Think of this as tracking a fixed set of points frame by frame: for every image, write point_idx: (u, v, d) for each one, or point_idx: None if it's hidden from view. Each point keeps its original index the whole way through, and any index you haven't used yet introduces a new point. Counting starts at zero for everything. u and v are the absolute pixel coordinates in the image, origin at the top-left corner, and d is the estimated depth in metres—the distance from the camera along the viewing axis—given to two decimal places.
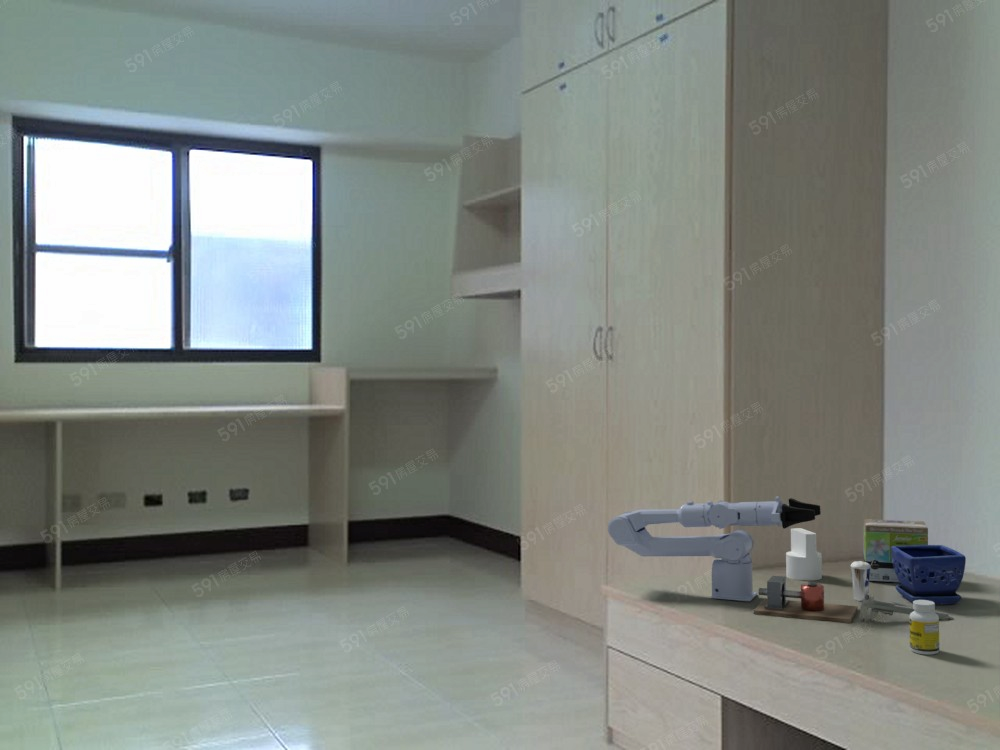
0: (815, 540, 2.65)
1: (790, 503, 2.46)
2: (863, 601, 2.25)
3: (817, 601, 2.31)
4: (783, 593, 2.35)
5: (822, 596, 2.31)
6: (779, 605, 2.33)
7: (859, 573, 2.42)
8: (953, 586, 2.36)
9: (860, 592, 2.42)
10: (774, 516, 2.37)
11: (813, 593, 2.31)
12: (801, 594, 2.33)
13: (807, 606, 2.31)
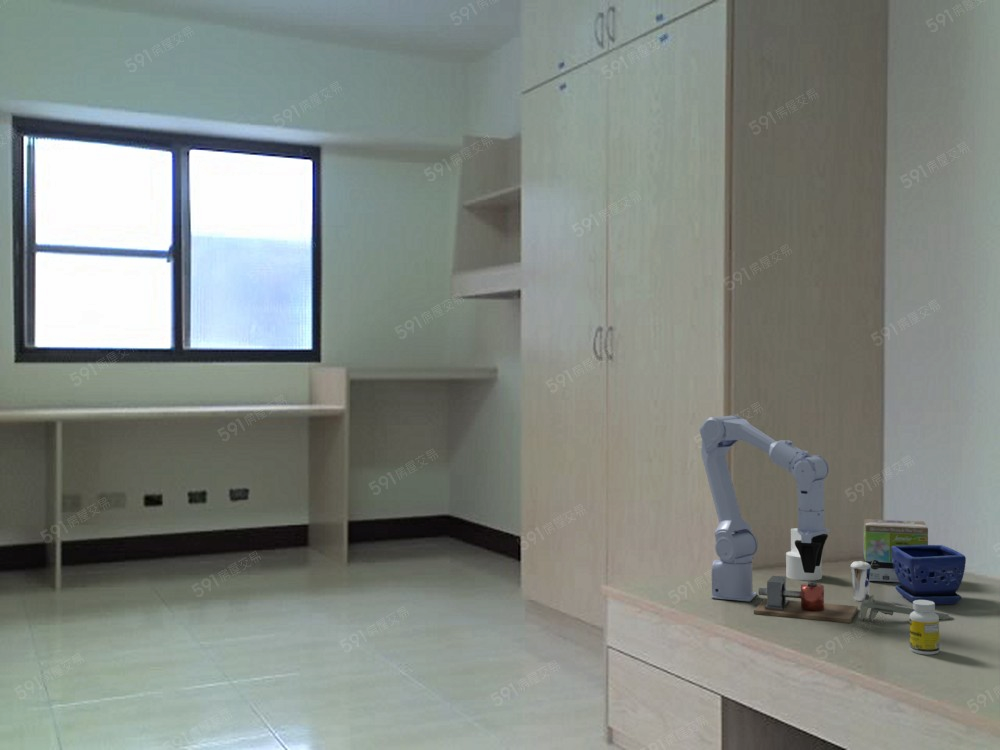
0: None
1: (822, 537, 2.35)
2: (863, 601, 2.25)
3: (817, 601, 2.31)
4: (783, 593, 2.35)
5: (822, 596, 2.31)
6: (779, 605, 2.33)
7: (859, 573, 2.42)
8: (953, 586, 2.36)
9: (860, 592, 2.42)
10: (808, 538, 2.26)
11: (813, 593, 2.31)
12: (801, 594, 2.33)
13: (807, 606, 2.31)
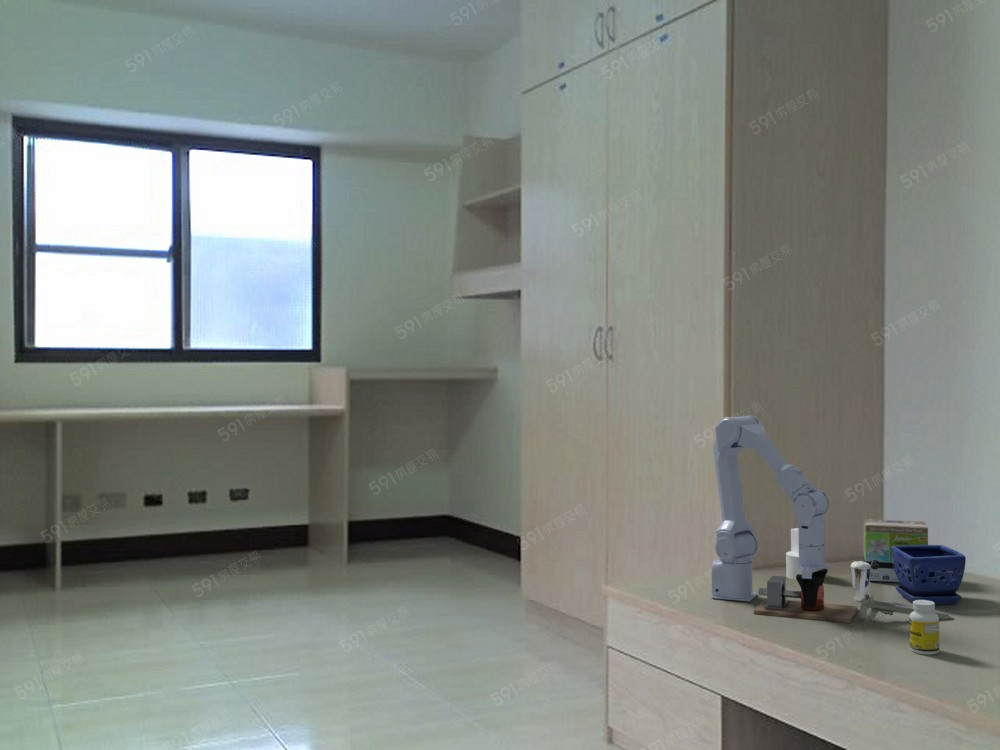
0: None
1: (822, 572, 2.35)
2: (863, 601, 2.25)
3: (817, 601, 2.31)
4: (783, 593, 2.35)
5: (822, 596, 2.31)
6: (779, 605, 2.33)
7: (859, 573, 2.42)
8: (953, 586, 2.36)
9: (860, 592, 2.42)
10: (808, 573, 2.26)
11: None
12: (801, 594, 2.33)
13: None
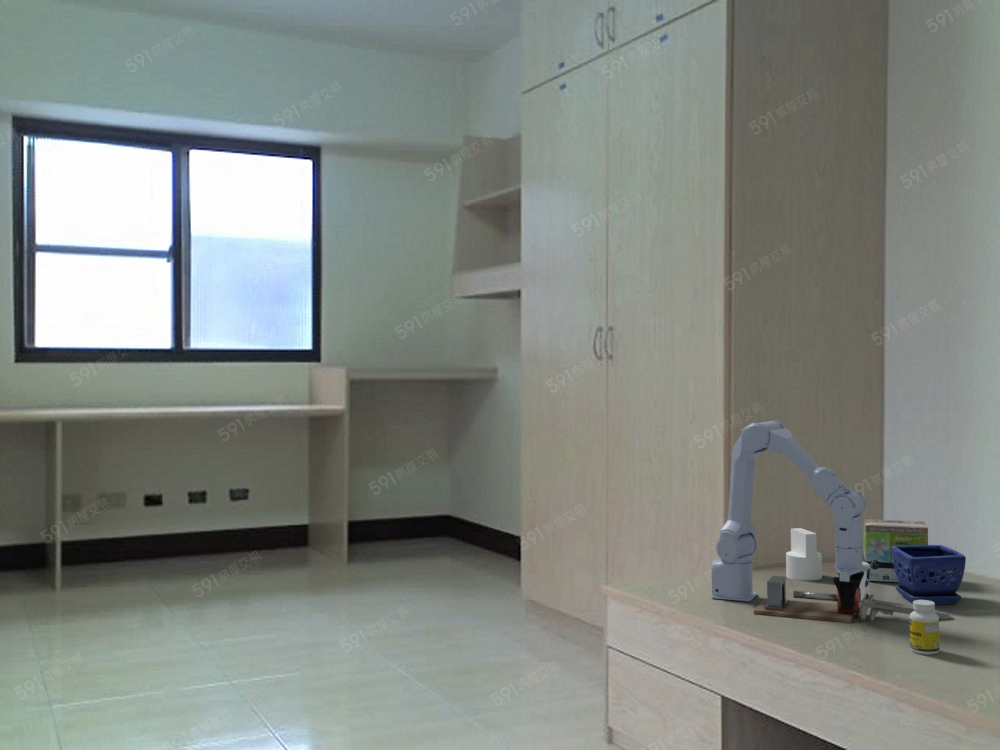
0: (815, 540, 2.65)
1: (858, 575, 2.31)
2: (863, 601, 2.25)
3: (854, 604, 2.27)
4: (818, 596, 2.32)
5: (859, 599, 2.28)
6: (779, 605, 2.33)
7: None
8: (953, 586, 2.36)
9: None
10: (846, 576, 2.23)
11: None
12: (837, 597, 2.30)
13: (844, 610, 2.28)
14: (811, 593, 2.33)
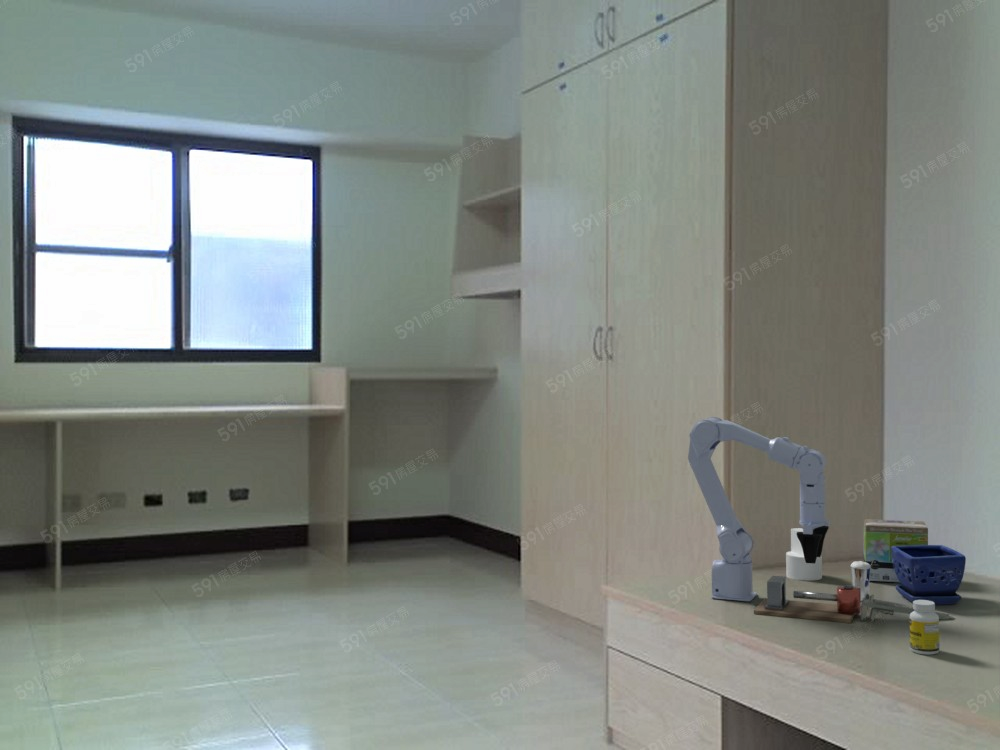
0: None
1: (823, 529, 2.43)
2: (863, 601, 2.25)
3: (853, 604, 2.27)
4: (818, 596, 2.32)
5: (859, 599, 2.28)
6: (779, 605, 2.33)
7: (859, 573, 2.42)
8: (953, 586, 2.36)
9: None
10: (809, 529, 2.34)
11: (850, 596, 2.27)
12: (837, 597, 2.30)
13: (844, 610, 2.28)
14: (811, 593, 2.33)
